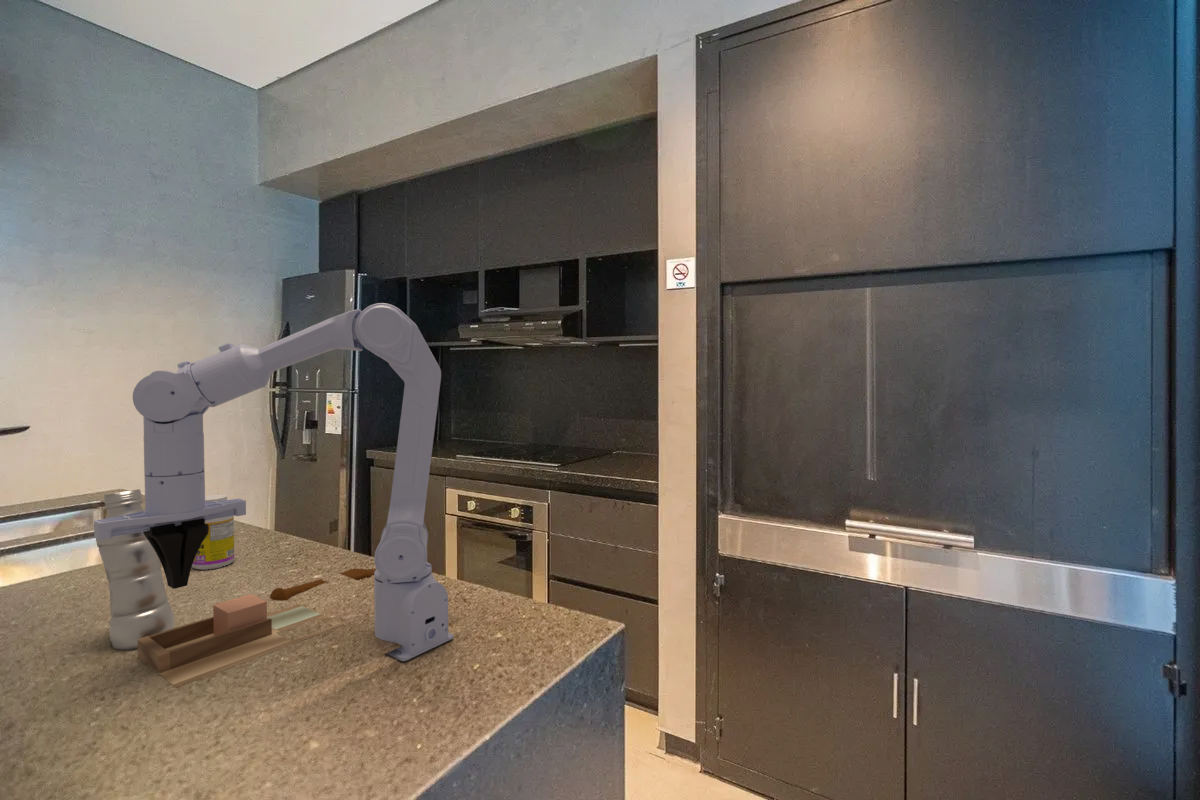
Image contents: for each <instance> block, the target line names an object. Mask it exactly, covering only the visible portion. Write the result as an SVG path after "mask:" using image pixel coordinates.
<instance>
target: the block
mask: <svg viewBox="0 0 1200 800" xmlns="http://www.w3.org/2000/svg"><path fill="white" fill-rule="evenodd" d="M267 605H268V604H267V601H266V600H264V599H262V598H260V597H258V596H256V595H253V594H252V593H250V594H247V595H243V596H241V597H236V598H233V599H228V600H226V601H222V602H218V603H216V604H215V603H214V604H213V605H212V608H213V613H212V614H213V616H212V617H213V623H214V636H216V635H219V634H223V633H226V632H229V631H232V630H235V629H238V628H241V627H244V626H247V625H250V624H253V623H256V622H259V621H262V620H266V619H267V614H268V607H267Z"/></svg>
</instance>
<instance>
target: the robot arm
mask: <svg viewBox="0 0 1200 800" xmlns="http://www.w3.org/2000/svg"><path fill="white" fill-rule="evenodd" d="M363 347H364V348H365V349H366V350H368V351H369V352H371V353H372V354H374V356H377V357H378V358H380V359H383V361H385V362H387V363H388V364H389V367H391V369H392V370H393V371H394V372H395V373H396V374H397V375H398V376H399V377H400V379H401V380H402V381H403V382H404V388H403V394H402V396H403V397H402V405H401V414H400V420H399V429H398V435H397V436H398V437H397V444H396V454H395V460H394V461H395V462H394V468H393V469H394V470H393V478H392V486H391V493H390V502H389V508H388V515H387V518H386V524H385V526H384V528H383V529H382V532H381V535H380V542H378V545H377V547H376V549H375V551H374V556H373V560H374V566H375V569H376V571H375V572H374V575H373V577H374V579H373V583H374V587H373V588H374V590H373V593H374V636H375V637H376V638H377V639H378V640H381V641H386V642H391V643H395V644H398V645H401V646H399V647H397V648H394V649H393V650H390V651H388V652H386V653H385V655H388V656H390V657H392V658H393V659H394V658H395V659H396V660H399V661H401V662H406V661H409V660H411V659H413V658H415V657H417V656H419V655H421V654H423V653H426V652H428V651H430V650H432V649H433V648H436V647H438V646H440V645H443V644H444V643H446V642H449V641H451V640H453V639H454V634H453V633H451V632H449V595H448V591H447V588H445V586H444V585H443V584H442V583H440V582H439V581H437V580H436V578H435V577H434V574H433V572H432V571H433V569H432V564H431V563H430V562H428V547H427V546H428V542H429V532H428V529H427V527H426V524H425V513H426V503H427V496H428V495H427V494H428V488H429V479H430V478H429V477H430V470H431V463H432V455H433V448H434V447H433V445H434V438H435V430H436V421H437V415H438V414H437V413H438V406H439V399H440V398H439V396H440V388H441V381H442V370H441V368H440V365H439V363H438V362H437V360H436V358H435V356H434V354H433V353H432V351H431V349H430V347H429V346H428V343H427V341H426V340H425V338H424V336H423V334H422V332H421V330H420V329H419V327H418V325H417V324H416V323H415V322H414V321H413V320H412V319H411V318H410V317H409V316H408V315H406V314H405V312H403V311H402V310H401V309H400V308H399V307H397V306H395V305H393V304H390V303H384V302H380V303H379V302H377V303H373V304H370V305H368V306H367V307H365V308H364V309H363V310H361V309H360V308H358V309H352V310H349V311H346V312H343V313H341V314H338V315H335V316H332V317H330V318H327V319H325V320H322V321H321V322H320V321H319V323H315V324H313V325H311V326H309V327H306V328H304V329H302V330H299V331H297V332H294V333H292V334H290V335H287V336H285V337H283V338H281V339H279V340H276V341H274V342H272V343H269V344H267V345H264V346H263V347H260V348H257V347H253V346H251V345H248V344H246V343H240V344H238V345H234V343H229V342H228V343H224V344H222V345H220V346H218V350H219V352H216V353H213V354H211V355H209V356H207V357H203V358H201V359H199V360H196V361H193V362H191V361H189V360H184V361H181V362H178V363H177V368H178V369H177V371H176V372H175V371H171V370H154V371H152V372H150V374H149V375H146V376H145V377H143V378H142V379H140V380H139V381H138V383H137V384H136V385H135V386H134V389H133V392H132V401H133V402H132V404H133V405H134V408H135V409H136V410H137V412H138V413H139V414H140V415H142V416H143V468H144V469H143V470H144V472H143V475H144V507H145V508H144V510H145V511H140V512H136V513H131V514H126V515H121V516H117V517H112V518H106V517H105V518H106V519H105V518H102V519H97V520H96V519H95V520H93V531H94V532H93V536H94V538H95V540H96V539H98V540H106V539H111V538H112V537H115V536H120V535H126V534H132V533H138V532H143V533H144V535H145V537H146V538H147V540H148V541H149V542H150V544H151V545H152V547H153V549H154V550H155V552H156V554H157V556H158V557H159V559H160V562H161V567H162V569H163V571H164V575H165V579H166V582H167V586H168V587H170V588H172V589H173V590H176V589H180V588H183V587H187V586H188V583H189V579H190V574H191V571H192V568H193V567H192V564H193V561H194V559H195V556H196V554H197V552H198V550H199V548H200V546H201V544H202V542H203V540H204V539H205V537H206V536H207V534H208V531H209V525H208V524H205V521H206V520H212V519H218V518H224V517H229V516H234V517H241V516H246V515H247V501H246V499H243V498H234V499H231V498H230V499H227V500H223V501H212V502H205V496H206V484H205V483H206V478H205V477H206V476H205V475H206V472H205V433H204V414H205V413H206V412H207V411H208V409H209V408H215V407H218V406H220V405H223V404H226V403H228V402H230V401H233V400H235V399H237V398H239V397H240V398H241V397H243V396H245V395H248V394H250V393H252V392H254V391H257V390H259V389H263V388H264V387H267V385H268V383H269V380H270V378H271V376H272V374H273V373H274V372H276V371H279V370H281V369H284V368H288V367H290V366H292V365H296V364H298V363H301V362H303V361H306V360H309V359H312V358H315V357H317V356H321V355H323V354H326V353H328V352H329V353H330V352H331V351H333V350H347V351H356V352H362V351H363ZM146 525H147V526H146Z"/></svg>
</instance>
